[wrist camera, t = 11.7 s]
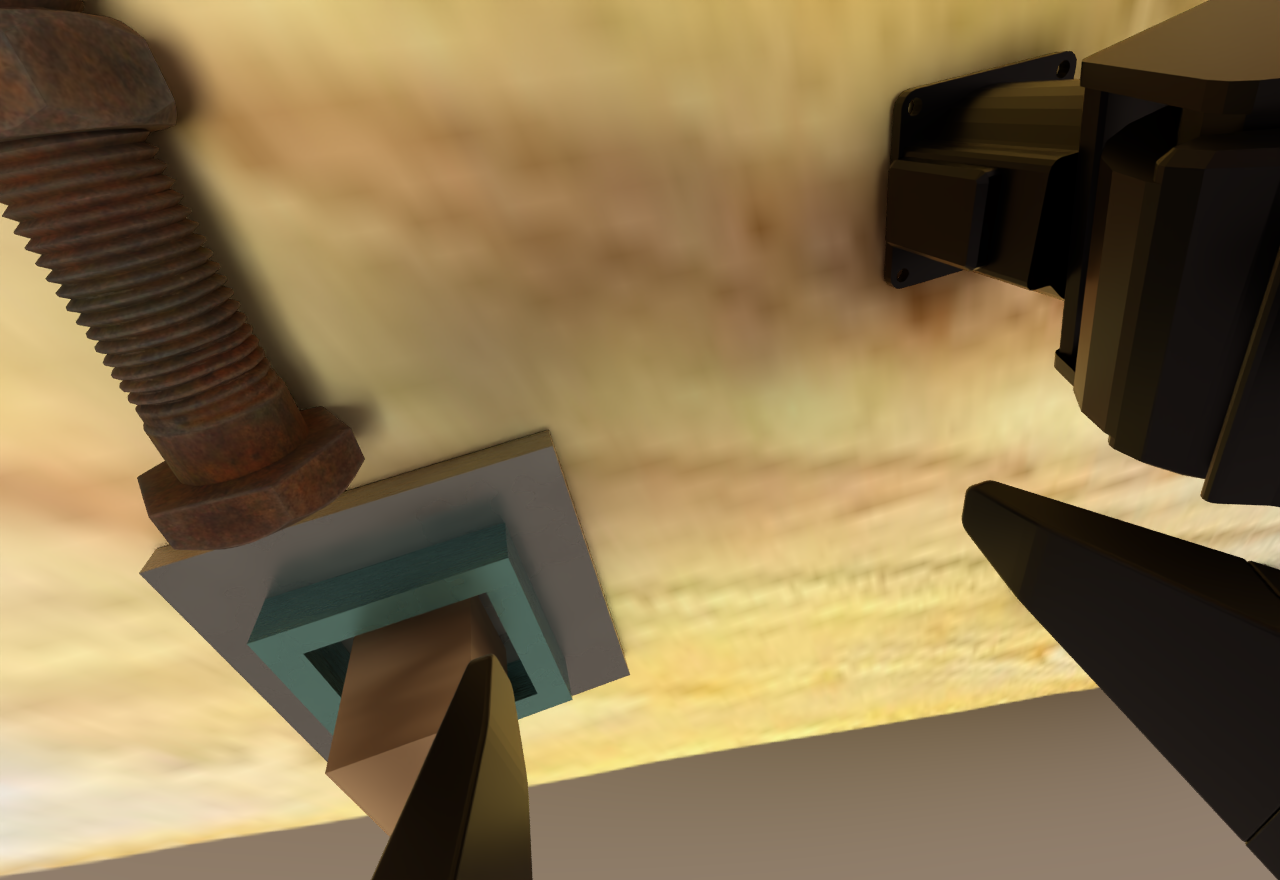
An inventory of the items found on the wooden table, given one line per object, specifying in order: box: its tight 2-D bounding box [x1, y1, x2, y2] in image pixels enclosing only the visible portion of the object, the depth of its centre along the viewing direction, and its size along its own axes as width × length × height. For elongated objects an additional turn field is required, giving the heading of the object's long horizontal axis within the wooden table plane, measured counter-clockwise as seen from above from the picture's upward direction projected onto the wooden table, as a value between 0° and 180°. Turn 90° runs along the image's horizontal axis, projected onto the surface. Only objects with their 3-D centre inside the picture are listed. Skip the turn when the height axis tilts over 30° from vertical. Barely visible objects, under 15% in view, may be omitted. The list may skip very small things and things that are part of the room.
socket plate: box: [139, 430, 630, 762], centre depth 22 cm, size 14×14×3 cm
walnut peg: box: [325, 595, 508, 836], centre depth 20 cm, size 4×4×6 cm
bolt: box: [0, 0, 365, 550], centre depth 13 cm, size 6×5×15 cm
